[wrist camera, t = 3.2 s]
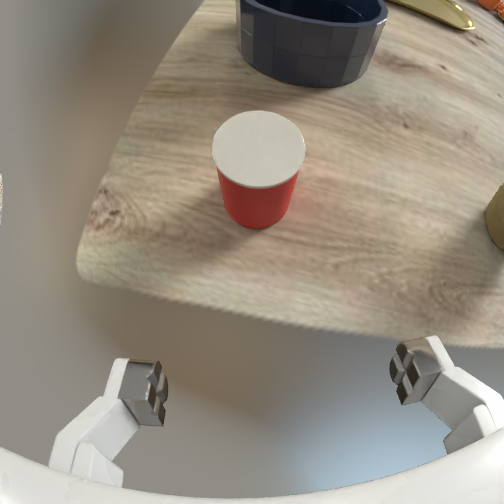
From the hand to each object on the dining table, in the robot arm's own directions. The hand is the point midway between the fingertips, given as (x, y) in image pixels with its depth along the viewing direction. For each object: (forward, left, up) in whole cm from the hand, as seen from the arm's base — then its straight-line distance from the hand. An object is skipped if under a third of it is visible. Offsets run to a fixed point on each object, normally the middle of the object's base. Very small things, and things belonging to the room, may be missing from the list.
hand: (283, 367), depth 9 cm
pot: (+13, +32, -14) cm, 37 cm away
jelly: (+2, +12, -14) cm, 19 cm away
